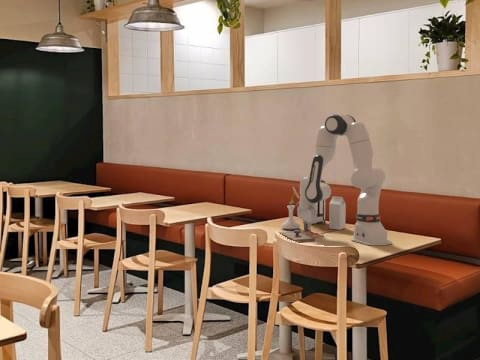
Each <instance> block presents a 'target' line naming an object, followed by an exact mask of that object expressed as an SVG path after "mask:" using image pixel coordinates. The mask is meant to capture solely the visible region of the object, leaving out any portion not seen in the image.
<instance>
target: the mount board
mask: <svg viewBox="0 0 480 360" xmlns="http://www.w3.org/2000/svg"><path fill="white" fill-rule="evenodd" d="M279 233H280V234H282V235H283V236H285V237H287V238H288V239H290V240H293V241H301V242H300V243H306V242H310V243H311V242H316V237H315V238H313V237H311V236H309V235H306V234H304V233H302V232H301V230H300V229H293V231H280V232H278V234H279ZM288 239H287V240H288ZM290 240H289V241H290Z"/></svg>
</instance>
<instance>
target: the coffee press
mask: <svg viewBox="0 0 480 360" xmlns="http://www.w3.org/2000/svg"><path fill="white" fill-rule="evenodd" d="M321 182H322V183H325V184H327V183H326V181H325V180H324V179H321ZM315 210H316V212H317V223H322V224H323V225H326V199H325V200H322V201H319V202H317V203H315Z"/></svg>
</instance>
